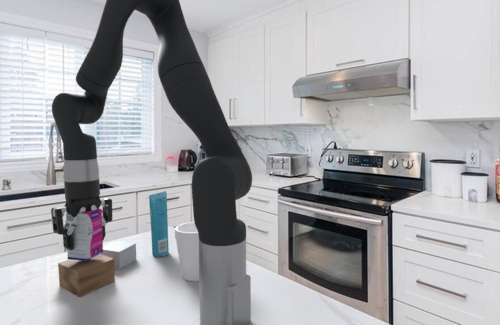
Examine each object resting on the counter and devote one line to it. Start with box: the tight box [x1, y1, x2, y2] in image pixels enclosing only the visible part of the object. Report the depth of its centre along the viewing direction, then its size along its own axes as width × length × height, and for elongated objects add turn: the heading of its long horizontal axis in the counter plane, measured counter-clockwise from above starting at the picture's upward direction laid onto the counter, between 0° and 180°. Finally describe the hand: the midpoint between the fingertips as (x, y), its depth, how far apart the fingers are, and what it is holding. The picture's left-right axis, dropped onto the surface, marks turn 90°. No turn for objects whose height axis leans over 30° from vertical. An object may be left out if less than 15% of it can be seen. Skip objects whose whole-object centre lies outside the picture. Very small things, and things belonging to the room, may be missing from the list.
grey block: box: [101, 240, 137, 270], centre depth 91 cm, size 7×7×5 cm
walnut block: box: [57, 254, 116, 298], centre depth 79 cm, size 9×9×6 cm
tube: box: [148, 190, 170, 258], centre depth 97 cm, size 7×5×19 cm, turn 160°
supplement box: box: [65, 208, 104, 261], centre depth 78 cm, size 6×6×12 cm
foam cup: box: [174, 221, 199, 282], centre depth 83 cm, size 10×9×13 cm
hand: (85, 244), depth 78 cm, fingers closed on supplement box, 7 cm apart
